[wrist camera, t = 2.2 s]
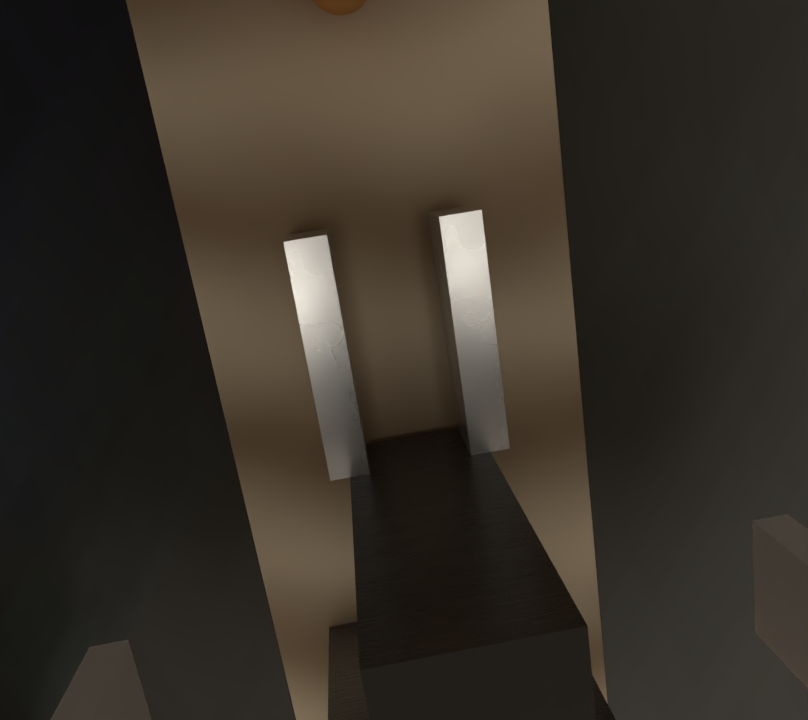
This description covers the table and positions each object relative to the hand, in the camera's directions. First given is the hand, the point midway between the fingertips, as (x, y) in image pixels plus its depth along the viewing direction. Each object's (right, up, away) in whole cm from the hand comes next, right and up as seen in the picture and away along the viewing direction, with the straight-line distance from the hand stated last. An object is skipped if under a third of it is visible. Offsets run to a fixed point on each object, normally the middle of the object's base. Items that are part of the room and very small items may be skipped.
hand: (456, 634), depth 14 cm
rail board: (-1, +5, +6) cm, 8 cm away
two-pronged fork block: (0, 0, +6) cm, 6 cm away
